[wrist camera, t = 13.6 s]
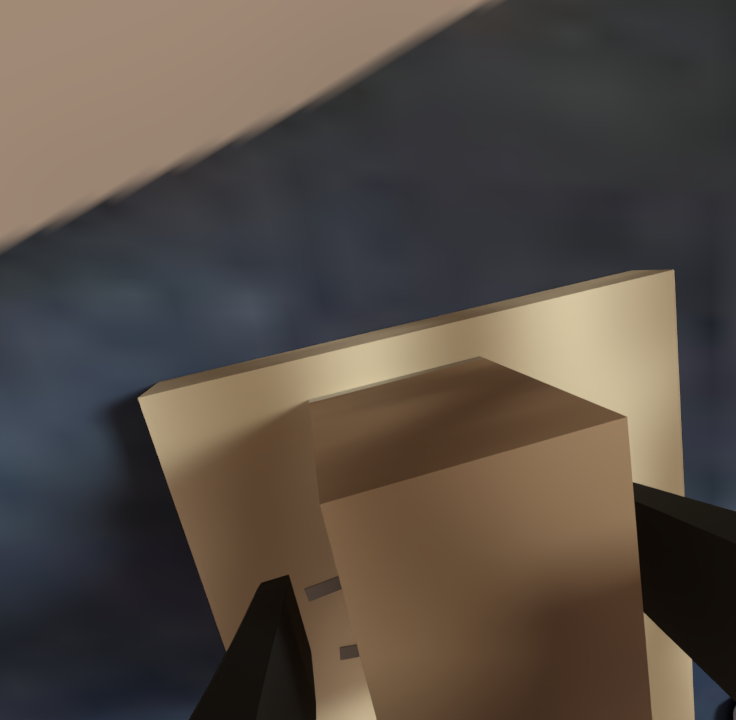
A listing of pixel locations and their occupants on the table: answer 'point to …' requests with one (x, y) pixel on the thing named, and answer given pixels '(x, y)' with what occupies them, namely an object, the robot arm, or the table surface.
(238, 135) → the table surface
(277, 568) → the board
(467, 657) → the block
